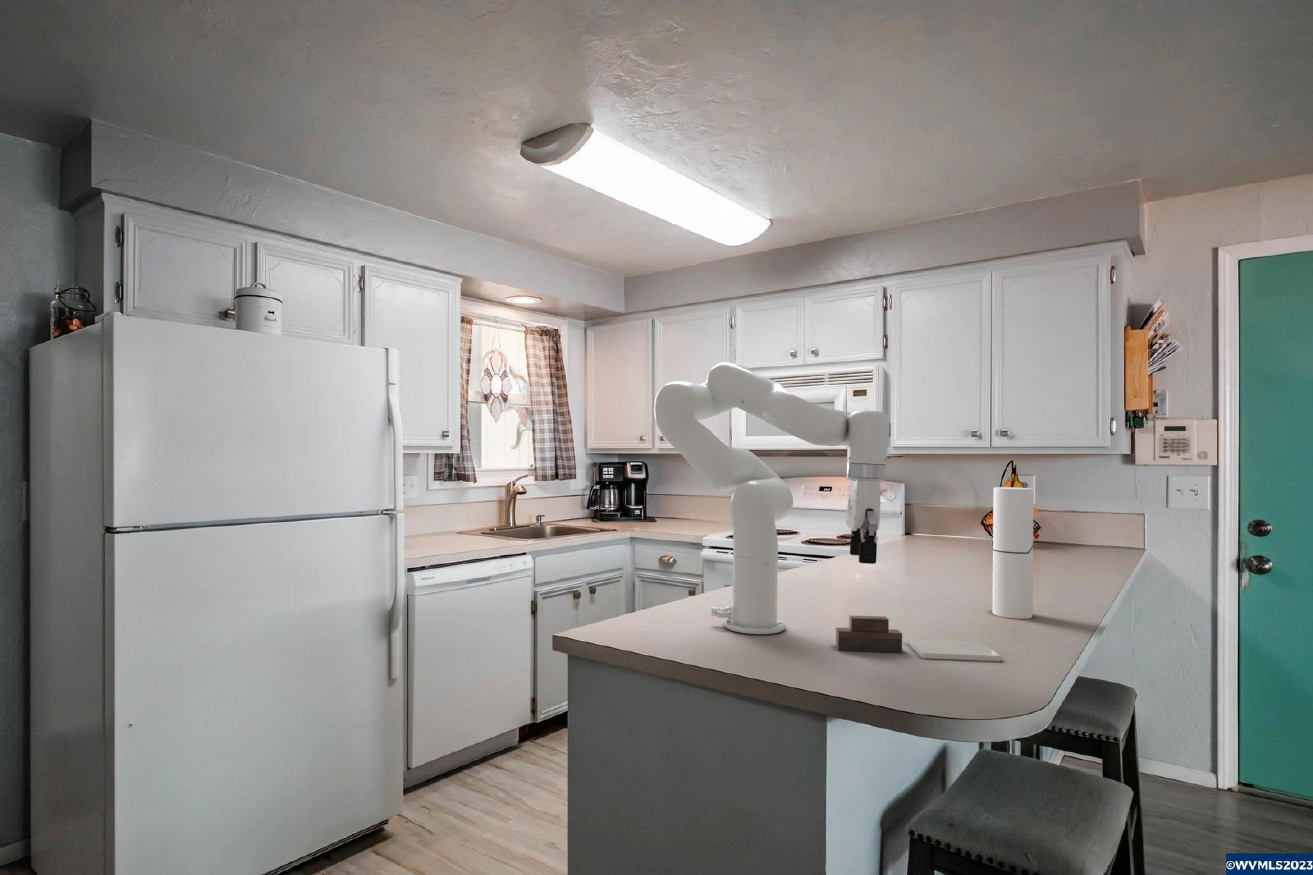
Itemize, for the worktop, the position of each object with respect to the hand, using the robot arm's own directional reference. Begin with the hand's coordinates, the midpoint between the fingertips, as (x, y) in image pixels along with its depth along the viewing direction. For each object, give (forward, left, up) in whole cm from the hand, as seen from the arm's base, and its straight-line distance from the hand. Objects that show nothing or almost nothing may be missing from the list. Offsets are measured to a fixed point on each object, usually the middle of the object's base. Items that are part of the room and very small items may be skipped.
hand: (862, 559), depth 147 cm
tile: (+17, -4, -17) cm, 24 cm away
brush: (+1, -4, -17) cm, 17 cm away
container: (+42, +32, -17) cm, 55 cm away
